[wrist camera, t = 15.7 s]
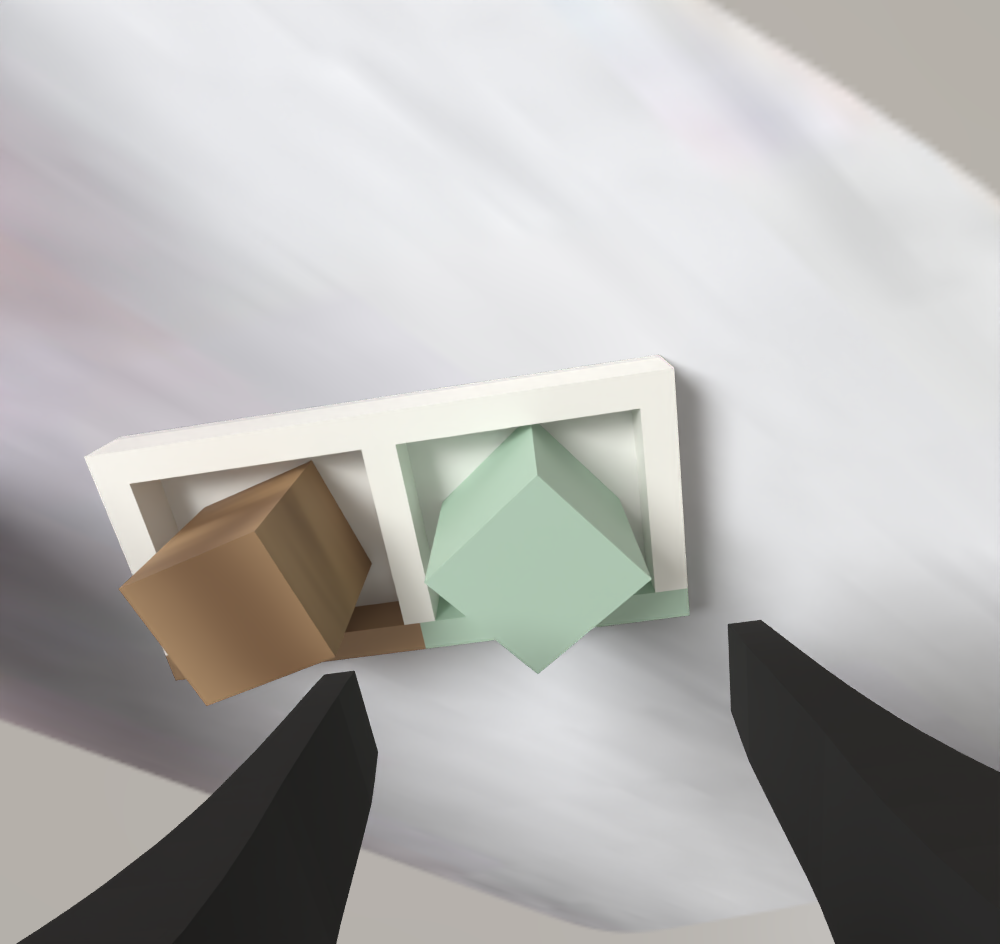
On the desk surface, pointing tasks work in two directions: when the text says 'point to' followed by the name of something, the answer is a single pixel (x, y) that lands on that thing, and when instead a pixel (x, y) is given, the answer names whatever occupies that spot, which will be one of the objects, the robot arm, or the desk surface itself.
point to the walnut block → (254, 585)
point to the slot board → (419, 482)
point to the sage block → (534, 548)
